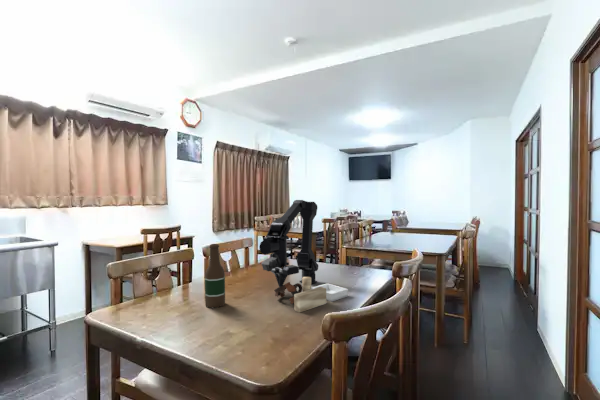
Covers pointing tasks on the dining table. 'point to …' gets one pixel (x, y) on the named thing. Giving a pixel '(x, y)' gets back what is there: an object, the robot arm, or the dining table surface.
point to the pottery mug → (290, 288)
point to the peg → (306, 283)
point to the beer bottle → (214, 280)
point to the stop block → (309, 299)
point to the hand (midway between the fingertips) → (280, 287)
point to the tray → (333, 292)
